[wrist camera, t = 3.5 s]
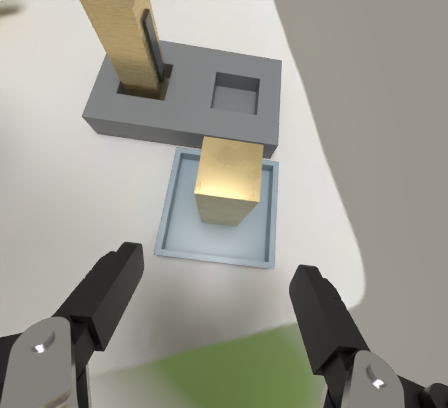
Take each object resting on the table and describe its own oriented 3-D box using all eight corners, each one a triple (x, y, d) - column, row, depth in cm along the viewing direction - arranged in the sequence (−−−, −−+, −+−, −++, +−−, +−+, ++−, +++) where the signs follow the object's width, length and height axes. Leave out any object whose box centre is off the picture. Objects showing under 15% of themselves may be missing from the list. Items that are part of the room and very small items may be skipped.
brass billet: (201, 222, 21) (194, 193, 11) (206, 188, 22) (203, 136, 12) (238, 226, 21) (263, 202, 11) (242, 193, 22) (267, 145, 13)
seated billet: (131, 102, 24) (79, -1, 14) (139, 78, 25) (95, -33, 15) (165, 107, 24) (135, 8, 14) (171, 83, 25) (147, -24, 16)
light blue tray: (158, 254, 20) (153, 254, 18) (179, 156, 24) (176, 147, 22) (268, 268, 21) (274, 269, 19) (273, 169, 24) (278, 161, 22)
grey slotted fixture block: (97, 133, 24) (81, 116, 21) (124, 56, 27) (114, 32, 24) (269, 158, 24) (278, 145, 22) (274, 80, 28) (281, 60, 25)
